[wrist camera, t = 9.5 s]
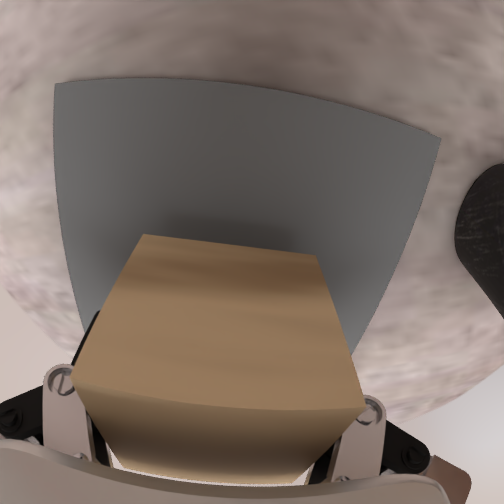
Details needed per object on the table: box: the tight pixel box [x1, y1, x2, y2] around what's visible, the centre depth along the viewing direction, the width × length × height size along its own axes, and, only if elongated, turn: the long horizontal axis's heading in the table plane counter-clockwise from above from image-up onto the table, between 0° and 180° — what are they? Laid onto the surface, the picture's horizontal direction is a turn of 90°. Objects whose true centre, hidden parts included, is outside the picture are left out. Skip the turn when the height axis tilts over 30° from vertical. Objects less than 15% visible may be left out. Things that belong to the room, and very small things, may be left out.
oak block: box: [69, 234, 366, 484], centre depth 9 cm, size 6×6×6 cm
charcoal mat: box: [53, 78, 441, 355], centre depth 14 cm, size 16×16×1 cm
